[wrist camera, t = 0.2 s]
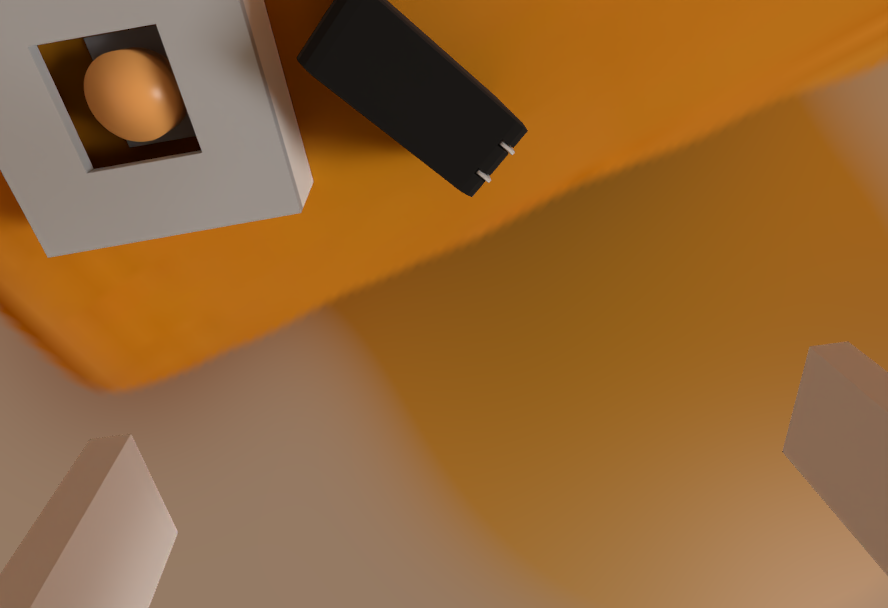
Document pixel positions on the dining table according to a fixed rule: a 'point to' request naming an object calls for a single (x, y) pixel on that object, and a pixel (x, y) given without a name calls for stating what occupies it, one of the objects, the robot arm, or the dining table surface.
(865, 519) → the robot arm
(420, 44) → the electronic device
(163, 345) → the dining table surface
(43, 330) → the dining table surface
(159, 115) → the button
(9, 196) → the dining table surface
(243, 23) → the box
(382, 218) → the dining table surface
